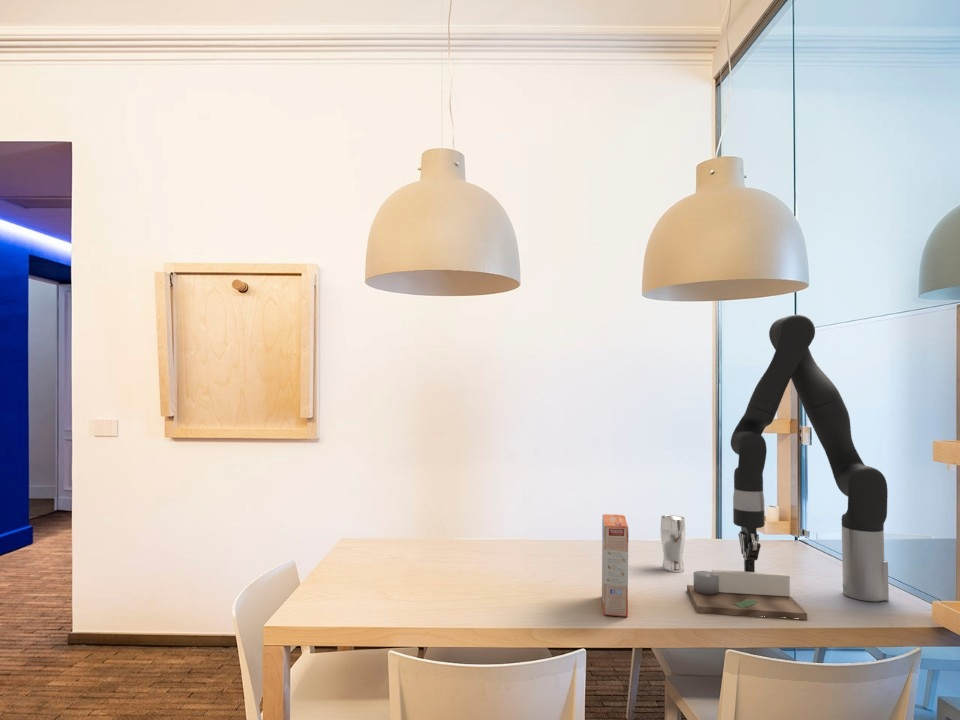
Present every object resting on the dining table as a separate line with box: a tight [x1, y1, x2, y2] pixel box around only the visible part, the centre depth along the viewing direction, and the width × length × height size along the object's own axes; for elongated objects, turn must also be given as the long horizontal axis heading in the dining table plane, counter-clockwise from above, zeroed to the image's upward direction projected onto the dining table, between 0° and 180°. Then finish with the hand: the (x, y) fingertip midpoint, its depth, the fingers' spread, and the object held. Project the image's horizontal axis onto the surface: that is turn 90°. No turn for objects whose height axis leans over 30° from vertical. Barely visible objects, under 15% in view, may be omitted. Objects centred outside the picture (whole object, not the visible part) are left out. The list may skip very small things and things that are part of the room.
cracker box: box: [601, 513, 629, 618], centre depth 151 cm, size 14×6×21 cm, turn 170°
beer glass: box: [660, 514, 686, 573], centre depth 182 cm, size 7×7×15 cm
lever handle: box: [693, 569, 791, 596], centre depth 156 cm, size 22×6×5 cm, turn 80°
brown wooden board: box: [686, 584, 808, 620], centre depth 152 cm, size 24×16×2 cm, turn 80°
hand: (749, 574), depth 162 cm, fingers closed
